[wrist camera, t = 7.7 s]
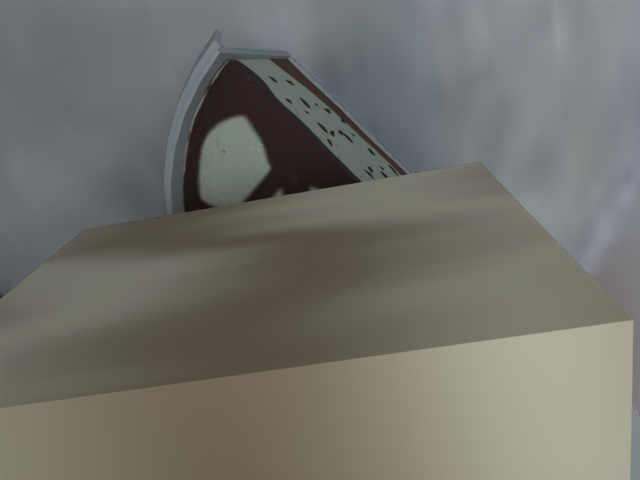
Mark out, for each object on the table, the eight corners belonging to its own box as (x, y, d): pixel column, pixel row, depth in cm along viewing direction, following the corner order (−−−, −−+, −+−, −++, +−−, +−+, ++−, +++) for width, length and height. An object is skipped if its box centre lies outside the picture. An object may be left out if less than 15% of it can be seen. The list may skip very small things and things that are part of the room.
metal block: (189, 517, 14) (92, 838, 9) (84, 229, 11) (-160, 431, 6) (507, 481, 13) (624, 809, 8) (479, 162, 11) (633, 320, 5)
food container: (161, 139, 23) (44, 223, 14) (257, 23, 21) (197, 31, 12) (370, 319, 26) (390, 487, 17) (471, 231, 24) (554, 365, 15)
